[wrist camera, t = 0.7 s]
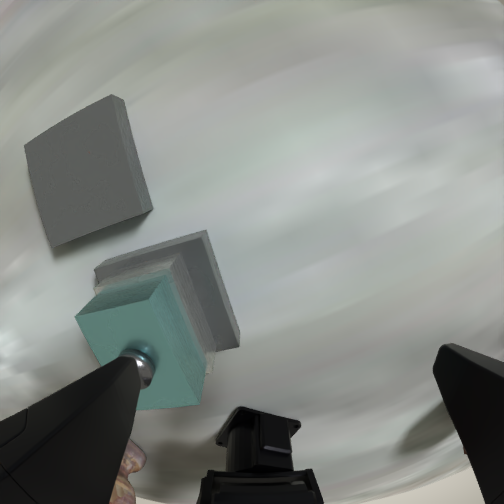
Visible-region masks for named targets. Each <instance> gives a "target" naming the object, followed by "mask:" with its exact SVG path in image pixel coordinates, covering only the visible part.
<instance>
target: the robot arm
mask: <svg viewBox="0 0 504 504" xmlns="http://www.w3.org/2000/svg"><path fill="white" fill-rule="evenodd" d="M433 374H434V377H435V379H436V382H437V384H438V387H439V390H440V392H441V395H442V398H443V400H444V403H445V406H446V408H447V411H448V413H449V415H450V417H451V420H452V422H453V424H454V426H455V428H456V430H457V433H458V435H459V437H460V439H461V442H462V444H463V446H464V449H465V451H466V453H467V456H468V458H469V461H470V463H471V466H472V468H473V471H474V473H475V476H476V479H477V481H478V484H479V487H480V490H481V493H482V495H483V498H484V501H485V504H504V362H502V361H499V360H496V359H494V358H491V357H488V356H486V355H483V354H480V353H478V352H475V351H472V350H470V349H467V348H464V347H462V346H459V345H456V344H454V343H449V344H444V345H442V346H441V347H440V348H439V351H438V354H437V357H436V360H435V362H434V365H433ZM140 389H141V379H140V375H139V371H138V367H137V363H136V360H135V359H134V358H133V357H128V356H119V357H117V358H116V359H114V360H112V361H111V362H109V363H107V364H105V365H103V366H102V367H100V368H98V369H96V370H95V371H93V372H91V373H89V374H88V375H86V376H84V377H82V378H80V379H79V380H77V381H75V382H73V383H71V384H70V385H68V386H66V387H64V388H62V389H61V390H59V391H57V392H55V393H53V394H52V395H50V396H48V397H46V398H44V399H42V400H41V401H39V402H37V403H35V404H33V405H31V406H29V407H28V409H27V408H26V409H24V410H22V411H20V412H18V413H16V414H14V415H12V416H10V417H8V418H6V419H4V420H2V421H0V504H109V502H110V499H111V495H112V492H113V489H114V485H115V482H116V479H117V475H118V472H119V469H120V466H121V462H122V459H123V456H124V453H125V450H126V447H127V444H128V441H129V438H130V434H131V431H132V427H133V422H134V417H135V412H136V408H137V403H138V398H139V394H140ZM300 427H301V422H300V421H298V420H293V419H289V418H284V417H280V416H276V415H272V414H268V413H264V412H261V411H257V410H253V409H250V408H246V407H239V408H238V409H237V410H236V412H235V413H234V414H233V416H232V417H231V419H230V420H229V422H228V423H227V425H226V426H225V427H224V429H223V430H222V432H221V433H220V434H219V436H218V437H217V439H216V444H217V445H219V446H222V447H226V448H227V456H226V472H222V471H214V470H208V472H207V477H205V478H202V479H201V487H200V494H199V497H198V500H197V503H196V504H324V502H323V498H322V495H321V492H320V490H319V487H318V484H317V481H316V478H315V476H314V473H313V470H312V469H305V470H300V471H294V468H293V461H292V454H291V453H292V446H291V439H290V438H291V437H292V436H293V435H294V434H295V433H296V432H297V431H298V430H299V429H300Z"/></svg>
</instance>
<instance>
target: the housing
mask: <svg viewBox="0 0 504 504" xmlns="http://www.w3.org/2000/svg"><path fill="white" fill-rule="evenodd" d="M94 291H95V294H96V296H95V297H94V298H93V299H92V300H91V301H90V302H89V303H88V304H87V305H86V306H85V307H84V308H83V309H82V310H81V311H80V312H79V313H78V314H77V315H76V316H75V319H76V321H77V323H78V325H79V327H80V328H81V330H82V332H83V334H84V336H85V338H86V340H87V342H88V344H89V345H90V347H91V349H92V351H93V353H94V354H95V356H96V358H97V360H98V361H99V363H100V365H101V366H103V365H105V364H107V363H109V362H111V361H112V360H114V359H116V358H117V357H119V356H128V357H133V358H134V359H135V360H136V363H137V367H138V371H139V375H140V379H141V389H140V394H139V398H138V403H137V408H136V410H149V409H162V408H173V407H183V406H192V405H200V401H201V395H202V389H203V384H204V378H205V374H209V373H212V372H213V365H214V358H215V352H216V343H215V341H214V338H213V336H212V333H211V331H210V328H209V326H208V323H207V321H206V318H205V315H204V313H203V310H202V308H201V305H200V302H199V300H198V297H197V294H196V292H195V289H194V286H193V283H192V281H191V278H190V275H189V272H188V270H187V267H186V264H185V261H184V258H183V255H182V252H181V251H180V252H177V253H173V254H170V255H166V256H163V257H159V258H156V259H152V260H149V261H145V262H142V263H139V264H135V265H132V266H128V267H125V268H121V269H118V270H115V271H113V272H112V273H110V274H109V275H108V276H107V277H106V278H105V279H104V280H102V281H101V282H100V283H99V284H98V285H97V286H96V287H95V288H94Z"/></svg>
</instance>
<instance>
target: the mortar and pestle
mask: <svg viewBox="0 0 504 504" xmlns="http://www.w3.org/2000/svg"><path fill="white" fill-rule="evenodd" d="M145 462H146V456H145V454H144V453H143V451H142V450H141V449H140V448H139V447H138V446H137V445H135V444H134V443H133V442H132V441H131V440H130V439H129V441H128V444H127V447H126V450H125V453H124V456H123V459H122V462H121V466H120V469H119V472H118V475H117V479H116V482H115V485H114V489H113V492H112V495H111V499H110V502H109V504H136V497H135V492H134V489H133V487H132V485H131V484H130V482H129V481H128V474H130V473H134V472H138V471H139V470H140V469H141V468H142V467H143V466H144V464H145Z"/></svg>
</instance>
